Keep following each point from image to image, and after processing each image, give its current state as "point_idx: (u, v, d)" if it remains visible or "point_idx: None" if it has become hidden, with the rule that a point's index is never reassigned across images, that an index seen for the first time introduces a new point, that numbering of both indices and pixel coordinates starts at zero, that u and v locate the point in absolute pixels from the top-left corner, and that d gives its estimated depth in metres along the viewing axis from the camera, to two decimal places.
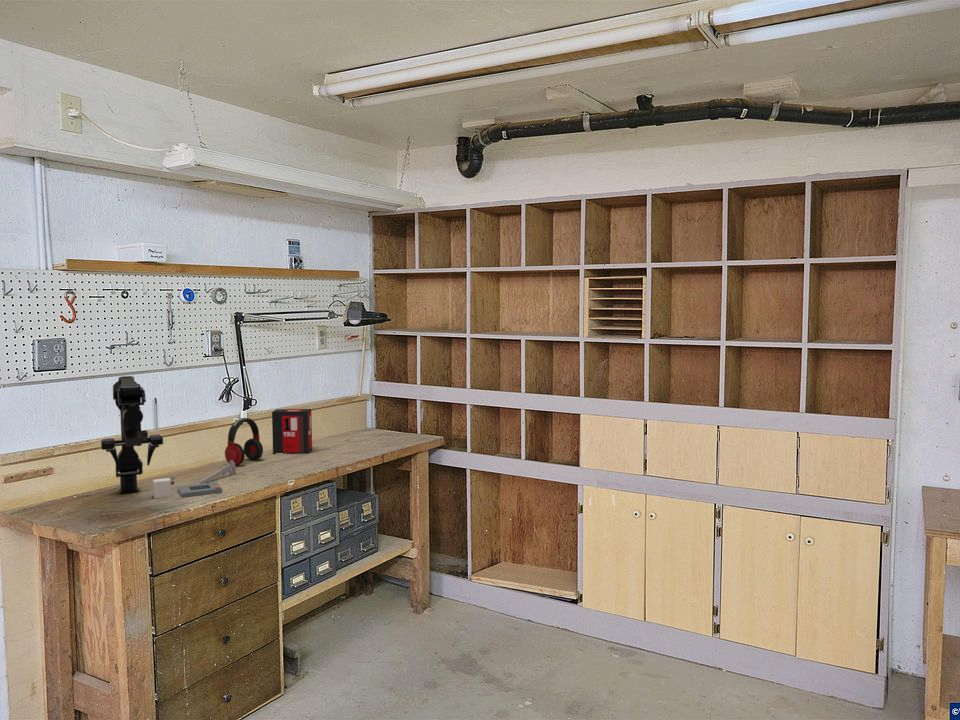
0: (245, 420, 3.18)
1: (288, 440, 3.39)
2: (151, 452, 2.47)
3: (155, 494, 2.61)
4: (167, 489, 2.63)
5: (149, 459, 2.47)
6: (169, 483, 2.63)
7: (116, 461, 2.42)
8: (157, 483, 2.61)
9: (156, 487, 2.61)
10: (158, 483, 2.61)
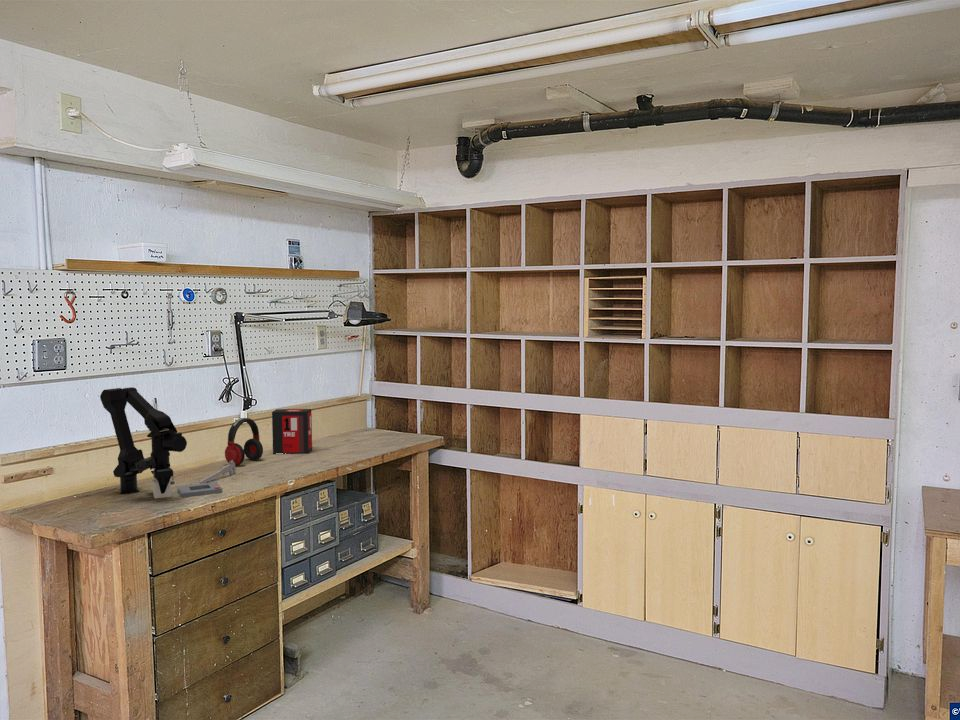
0: (245, 420, 3.18)
1: (288, 440, 3.39)
2: (158, 481, 2.60)
3: (155, 494, 2.61)
4: (167, 489, 2.63)
5: None
6: (169, 483, 2.63)
7: None
8: (157, 483, 2.61)
9: (156, 487, 2.61)
10: (158, 483, 2.61)
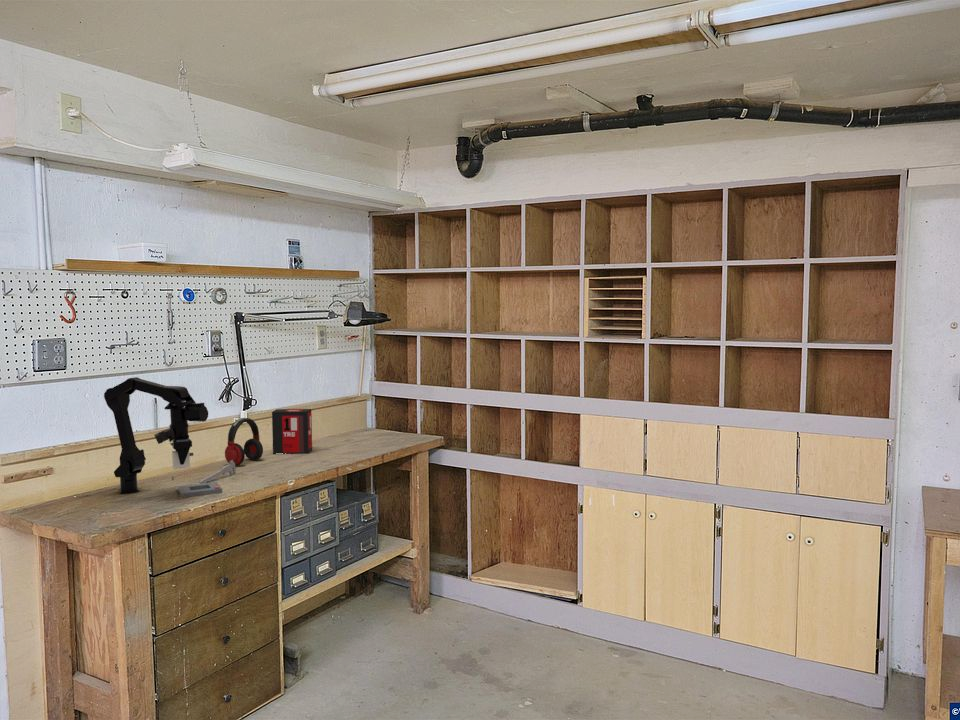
0: (245, 420, 3.18)
1: (288, 440, 3.39)
2: (177, 452, 2.62)
3: (174, 465, 2.63)
4: (186, 461, 2.65)
5: (179, 459, 2.63)
6: (188, 454, 2.65)
7: None
8: (176, 454, 2.64)
9: (175, 458, 2.63)
10: (177, 454, 2.64)
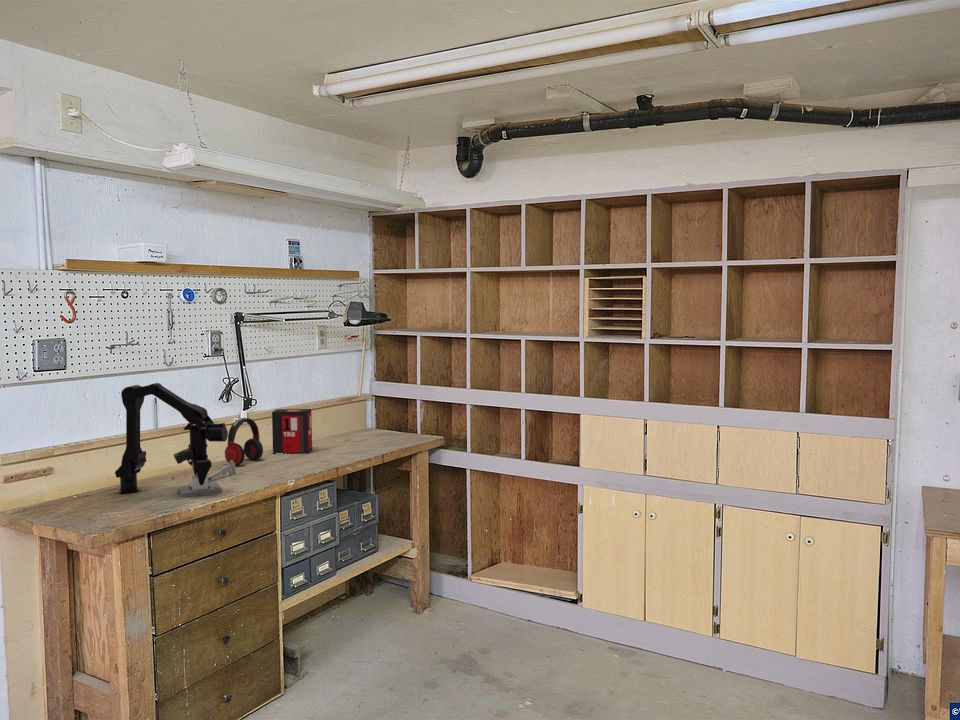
0: (245, 420, 3.18)
1: (288, 440, 3.39)
2: (197, 473, 2.65)
3: (193, 489, 2.67)
4: (204, 485, 2.69)
5: (198, 479, 2.66)
6: (207, 479, 2.70)
7: (194, 473, 2.74)
8: (195, 479, 2.68)
9: (194, 483, 2.67)
10: (196, 479, 2.68)
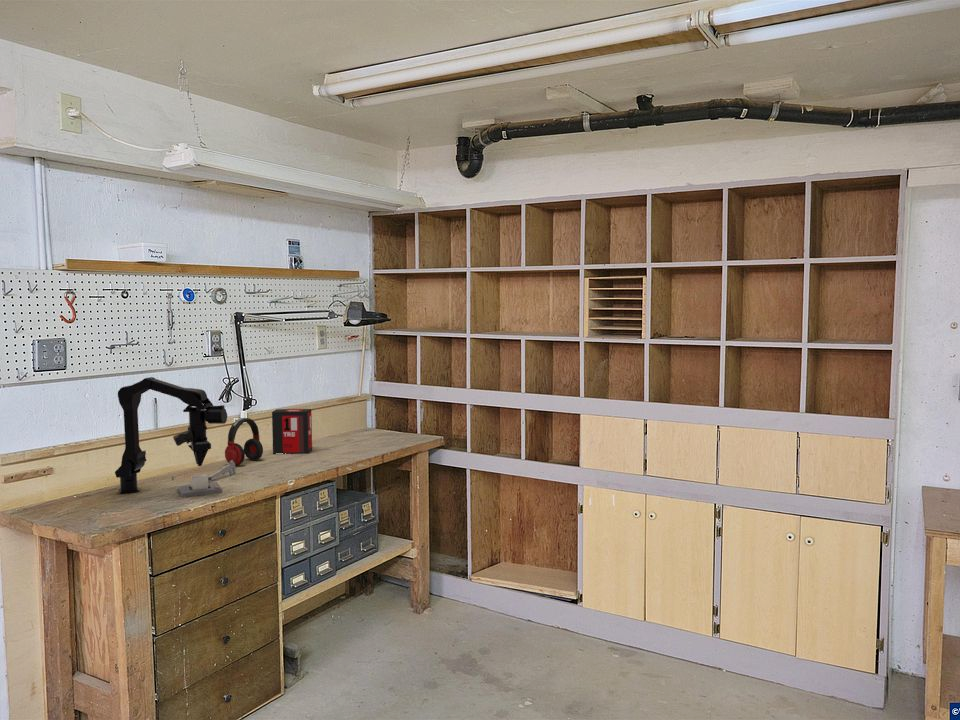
0: (245, 420, 3.18)
1: (288, 440, 3.39)
2: (195, 454, 2.66)
3: (193, 489, 2.67)
4: (204, 485, 2.69)
5: (197, 460, 2.67)
6: (207, 479, 2.70)
7: None
8: (195, 479, 2.68)
9: (194, 483, 2.67)
10: (196, 479, 2.68)
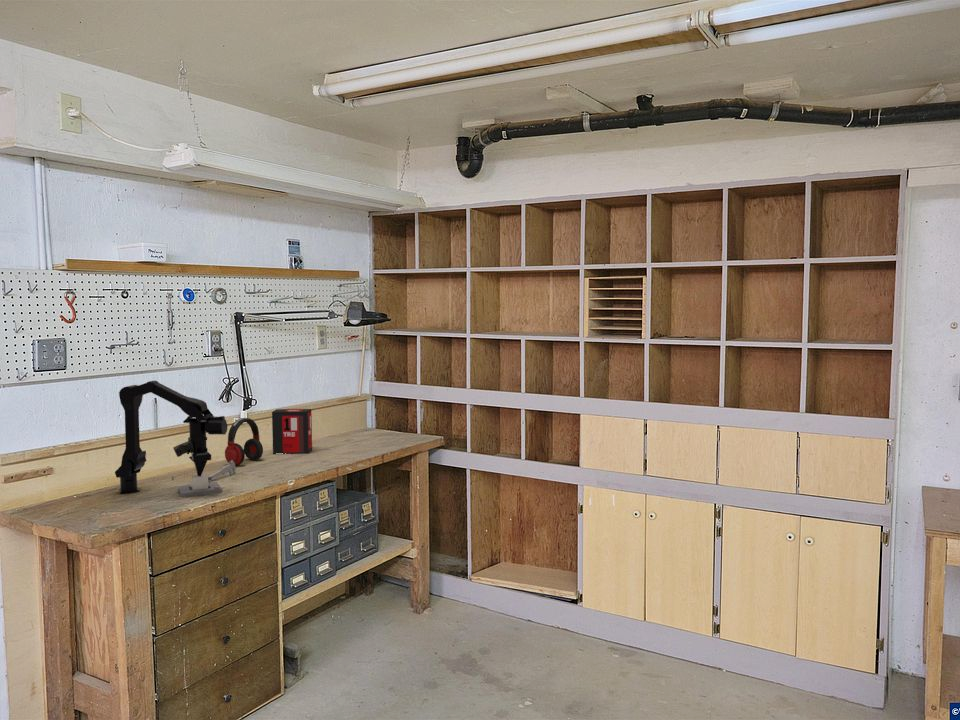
0: (245, 420, 3.18)
1: (288, 440, 3.39)
2: (195, 464, 2.68)
3: (193, 489, 2.67)
4: (204, 485, 2.69)
5: (196, 470, 2.69)
6: (207, 479, 2.70)
7: None
8: (195, 479, 2.68)
9: (194, 483, 2.67)
10: (196, 478, 2.68)
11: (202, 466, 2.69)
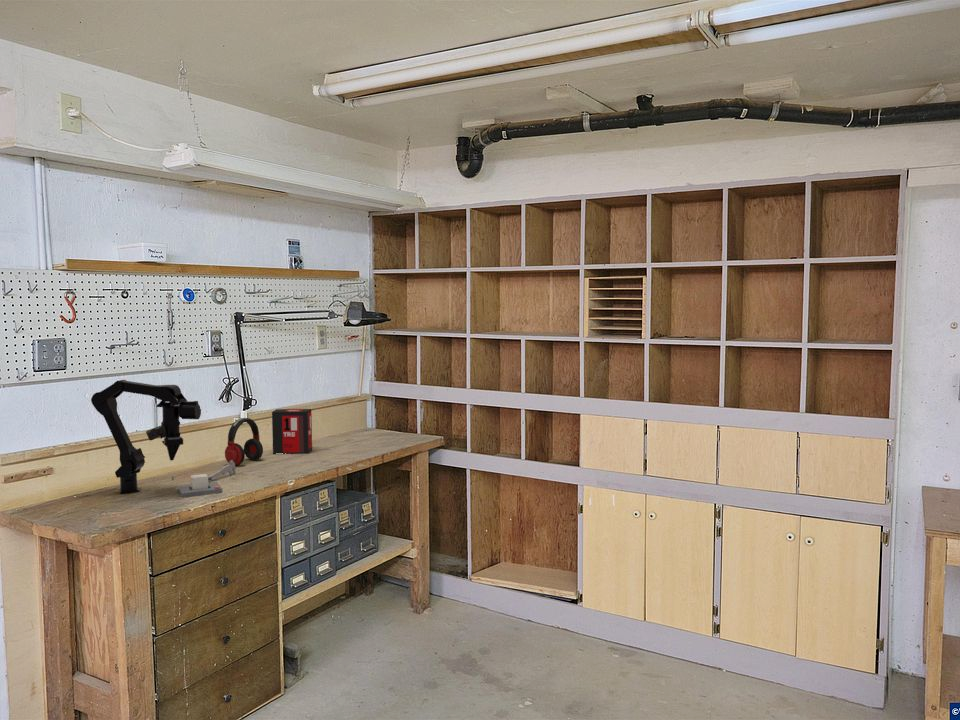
0: (245, 420, 3.18)
1: (288, 440, 3.39)
2: (167, 448, 2.68)
3: (193, 489, 2.67)
4: (204, 485, 2.69)
5: (169, 455, 2.69)
6: (207, 479, 2.70)
7: (168, 453, 2.71)
8: (195, 479, 2.68)
9: (194, 483, 2.67)
10: (196, 479, 2.68)
11: (174, 451, 2.70)
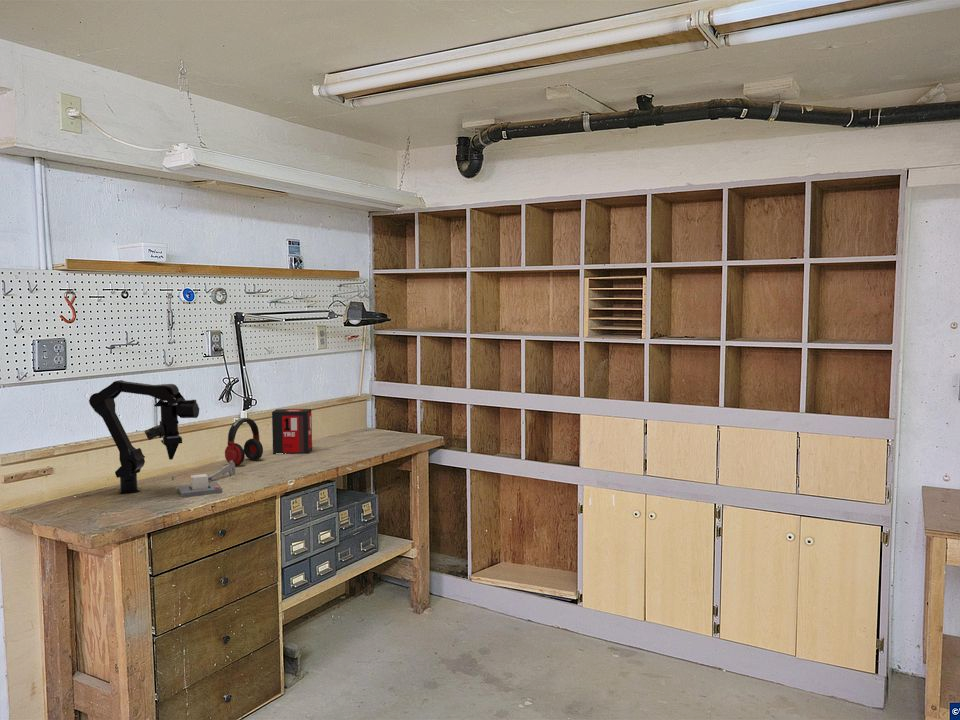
0: (245, 420, 3.18)
1: (288, 440, 3.39)
2: (166, 448, 2.69)
3: (193, 489, 2.67)
4: (204, 485, 2.69)
5: (168, 454, 2.69)
6: (207, 479, 2.70)
7: (167, 452, 2.71)
8: (195, 479, 2.68)
9: (194, 483, 2.67)
10: (196, 479, 2.68)
11: (173, 450, 2.70)
